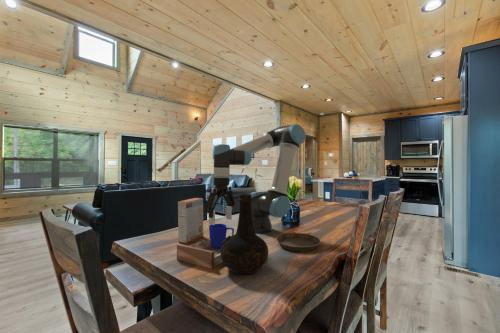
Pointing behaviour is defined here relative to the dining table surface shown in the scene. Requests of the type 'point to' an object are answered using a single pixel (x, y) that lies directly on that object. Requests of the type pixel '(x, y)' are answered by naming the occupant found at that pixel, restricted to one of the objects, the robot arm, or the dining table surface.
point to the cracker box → (190, 219)
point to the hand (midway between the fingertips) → (220, 221)
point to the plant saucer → (298, 241)
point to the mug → (218, 234)
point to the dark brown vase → (244, 243)
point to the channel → (198, 255)
